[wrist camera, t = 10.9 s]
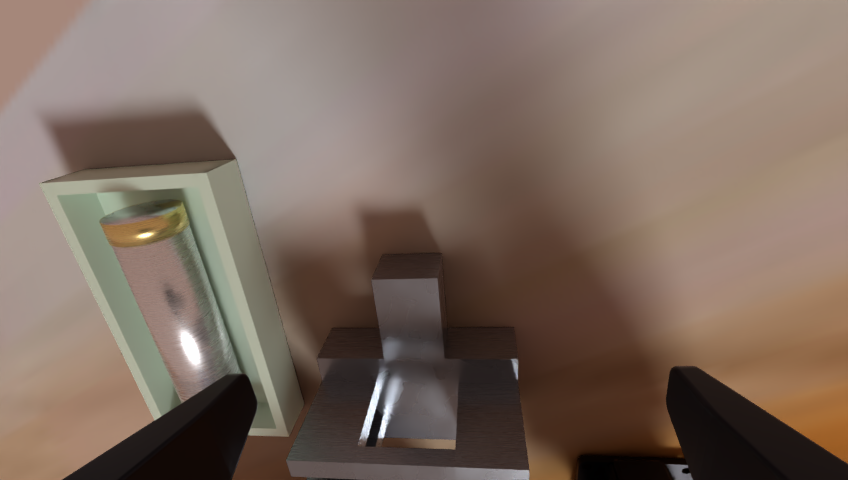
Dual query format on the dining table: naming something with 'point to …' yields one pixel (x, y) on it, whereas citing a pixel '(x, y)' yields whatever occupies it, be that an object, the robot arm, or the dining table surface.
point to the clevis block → (414, 390)
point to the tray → (224, 264)
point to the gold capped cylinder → (172, 292)
